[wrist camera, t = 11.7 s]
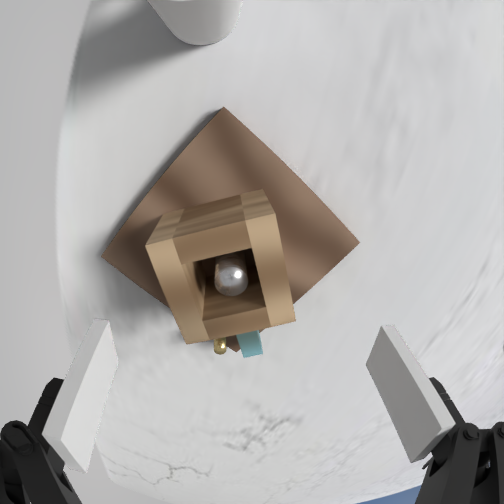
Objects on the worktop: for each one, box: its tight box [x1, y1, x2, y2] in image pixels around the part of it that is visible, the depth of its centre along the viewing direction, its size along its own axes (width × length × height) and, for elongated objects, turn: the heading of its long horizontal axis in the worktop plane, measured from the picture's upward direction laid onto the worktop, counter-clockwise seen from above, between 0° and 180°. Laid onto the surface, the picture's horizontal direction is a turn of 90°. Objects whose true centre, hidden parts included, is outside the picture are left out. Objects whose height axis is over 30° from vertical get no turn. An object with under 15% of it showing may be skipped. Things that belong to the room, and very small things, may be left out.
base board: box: [101, 107, 360, 352], centre depth 29 cm, size 18×18×2 cm
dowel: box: [214, 337, 226, 354], centre depth 31 cm, size 1×1×4 cm
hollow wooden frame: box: [145, 189, 296, 358], centre depth 27 cm, size 16×9×7 cm, turn 13°
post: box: [215, 250, 248, 296], centre depth 26 cm, size 2×2×6 cm
